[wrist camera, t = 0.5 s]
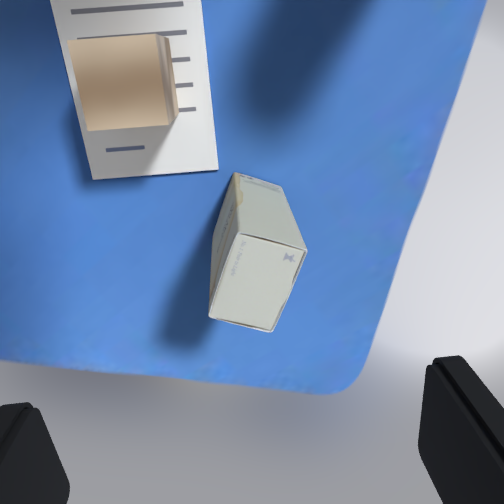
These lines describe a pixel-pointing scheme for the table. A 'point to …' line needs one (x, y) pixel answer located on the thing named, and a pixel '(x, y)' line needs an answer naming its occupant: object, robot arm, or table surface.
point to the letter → (186, 82)
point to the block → (125, 81)
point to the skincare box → (254, 255)
